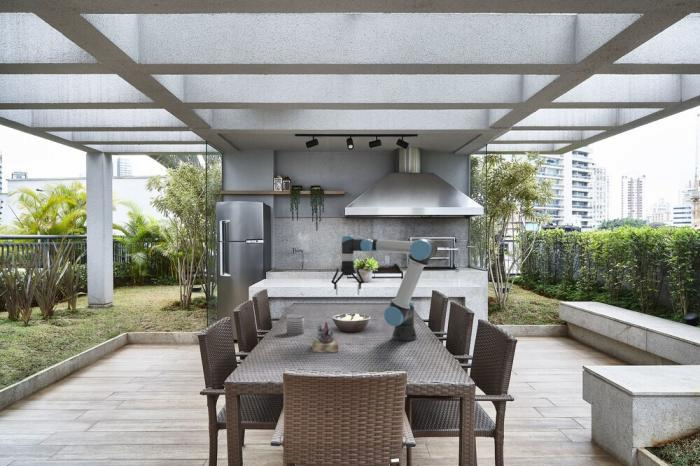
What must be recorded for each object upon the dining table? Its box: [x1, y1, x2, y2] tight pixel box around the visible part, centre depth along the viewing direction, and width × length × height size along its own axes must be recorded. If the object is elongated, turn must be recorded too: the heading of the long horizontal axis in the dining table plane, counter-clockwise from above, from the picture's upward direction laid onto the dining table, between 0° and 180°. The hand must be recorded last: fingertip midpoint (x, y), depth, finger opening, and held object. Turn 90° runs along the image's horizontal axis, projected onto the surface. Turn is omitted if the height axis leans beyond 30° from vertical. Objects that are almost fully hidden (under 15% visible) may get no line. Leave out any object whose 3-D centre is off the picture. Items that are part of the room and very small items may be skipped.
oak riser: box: [311, 338, 339, 353], centre depth 268 cm, size 14×15×4 cm
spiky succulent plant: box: [315, 321, 335, 343], centre depth 269 cm, size 11×11×12 cm
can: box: [286, 313, 305, 336], centre depth 310 cm, size 11×11×12 cm
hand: (347, 294), depth 299 cm, fingers open, 13 cm apart
